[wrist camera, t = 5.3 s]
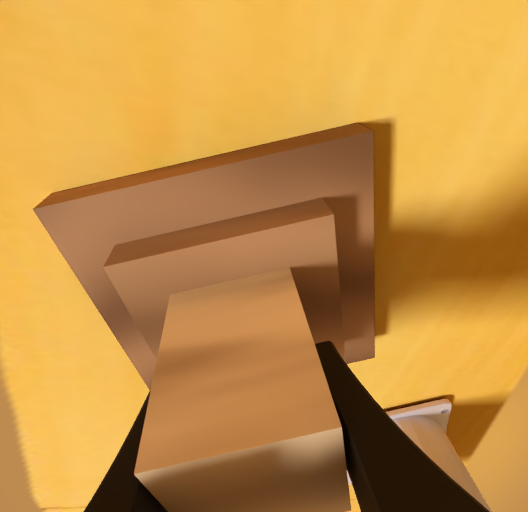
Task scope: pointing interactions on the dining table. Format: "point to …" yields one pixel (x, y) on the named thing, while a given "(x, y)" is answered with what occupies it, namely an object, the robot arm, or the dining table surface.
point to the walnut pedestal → (229, 236)
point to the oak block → (242, 406)
